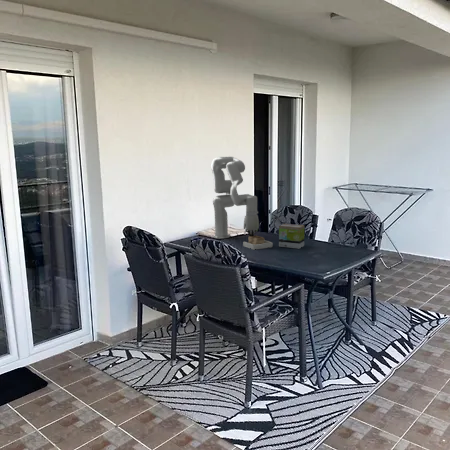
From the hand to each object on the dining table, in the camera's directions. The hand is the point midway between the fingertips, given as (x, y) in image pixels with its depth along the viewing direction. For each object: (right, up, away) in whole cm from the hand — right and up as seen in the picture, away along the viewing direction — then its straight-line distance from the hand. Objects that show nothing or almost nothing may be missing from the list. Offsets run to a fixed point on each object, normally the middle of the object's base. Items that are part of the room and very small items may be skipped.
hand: (251, 239), depth 325 cm
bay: (+4, -4, -6) cm, 9 cm away
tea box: (+27, -5, -8) cm, 28 cm away
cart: (+3, -4, -5) cm, 7 cm away
